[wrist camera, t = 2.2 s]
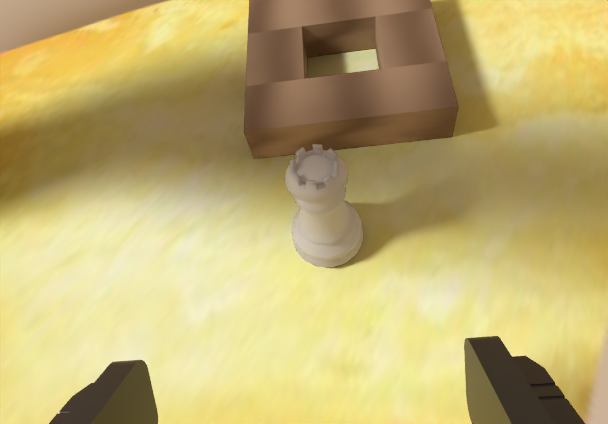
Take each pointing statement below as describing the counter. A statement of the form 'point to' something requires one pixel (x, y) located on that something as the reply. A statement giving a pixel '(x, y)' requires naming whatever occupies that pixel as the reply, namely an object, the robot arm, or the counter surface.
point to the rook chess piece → (322, 208)
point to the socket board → (344, 76)
